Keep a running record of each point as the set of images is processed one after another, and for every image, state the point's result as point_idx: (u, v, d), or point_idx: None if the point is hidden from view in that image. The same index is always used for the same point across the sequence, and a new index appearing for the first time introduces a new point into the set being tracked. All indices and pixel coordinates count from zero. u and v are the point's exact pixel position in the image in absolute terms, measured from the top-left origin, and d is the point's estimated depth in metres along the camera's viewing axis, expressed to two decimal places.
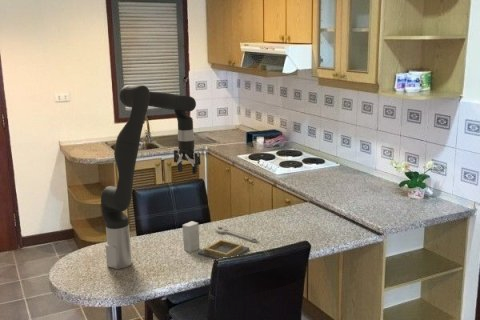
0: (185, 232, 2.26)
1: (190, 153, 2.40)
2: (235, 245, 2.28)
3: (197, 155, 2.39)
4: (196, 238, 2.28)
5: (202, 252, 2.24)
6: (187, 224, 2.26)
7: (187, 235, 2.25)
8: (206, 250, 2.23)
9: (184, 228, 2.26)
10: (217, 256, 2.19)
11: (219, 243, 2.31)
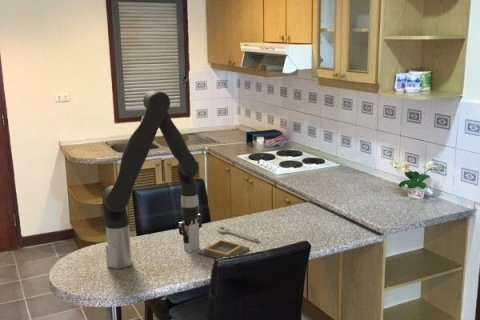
0: None
1: (197, 216, 2.28)
2: (235, 245, 2.28)
3: None
4: (196, 238, 2.28)
5: (202, 252, 2.24)
6: None
7: None
8: (206, 250, 2.23)
9: None
10: (217, 256, 2.19)
11: (219, 243, 2.31)
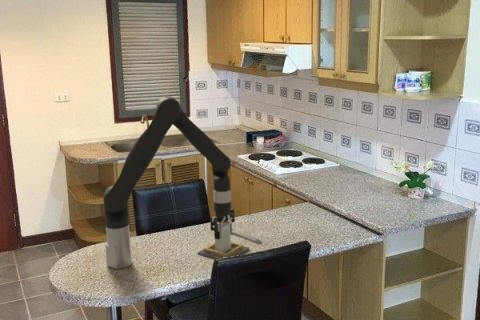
0: None
1: (229, 212, 2.24)
2: (235, 245, 2.28)
3: None
4: (228, 239, 2.24)
5: (202, 252, 2.24)
6: None
7: None
8: (206, 250, 2.23)
9: None
10: (217, 256, 2.19)
11: None
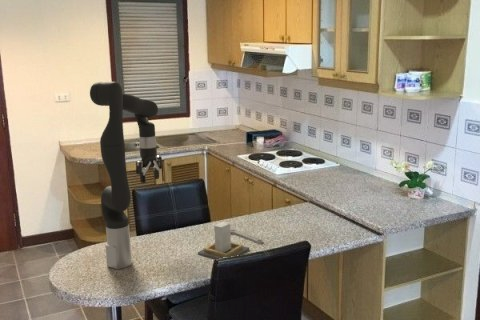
0: (217, 233, 2.21)
1: (155, 158, 2.36)
2: (235, 245, 2.28)
3: None
4: (227, 239, 2.24)
5: (202, 252, 2.24)
6: (219, 225, 2.22)
7: (219, 235, 2.21)
8: (206, 250, 2.23)
9: (216, 229, 2.21)
10: (217, 256, 2.19)
11: None
